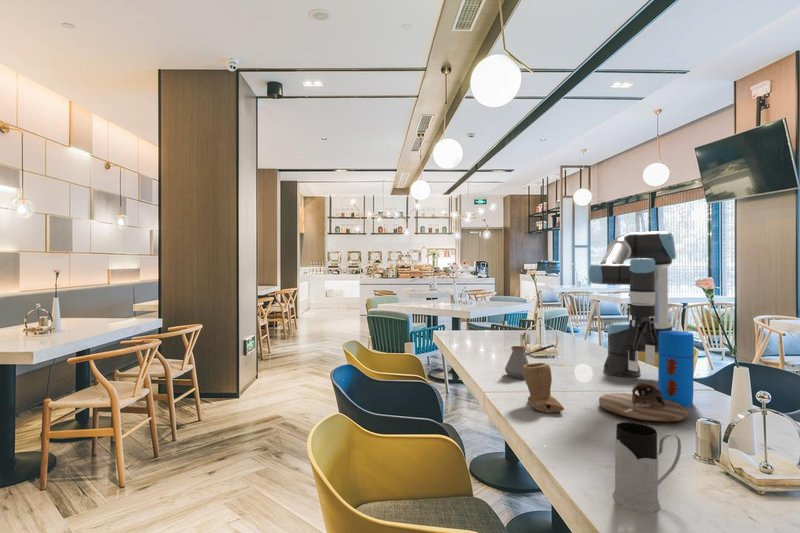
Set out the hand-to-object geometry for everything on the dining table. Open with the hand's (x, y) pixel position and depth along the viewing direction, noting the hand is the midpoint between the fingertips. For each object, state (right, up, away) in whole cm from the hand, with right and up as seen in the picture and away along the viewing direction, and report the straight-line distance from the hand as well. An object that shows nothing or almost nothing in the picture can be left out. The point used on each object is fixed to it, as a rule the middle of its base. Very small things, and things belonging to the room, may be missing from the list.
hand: (641, 367), depth 146 cm
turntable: (0, -14, 0) cm, 14 cm away
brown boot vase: (-33, -15, +4) cm, 36 cm away
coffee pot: (-24, -15, +45) cm, 53 cm away
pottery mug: (+1, -13, -1) cm, 13 cm away
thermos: (+19, -15, +11) cm, 27 cm away
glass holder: (-30, -15, -55) cm, 64 cm away
